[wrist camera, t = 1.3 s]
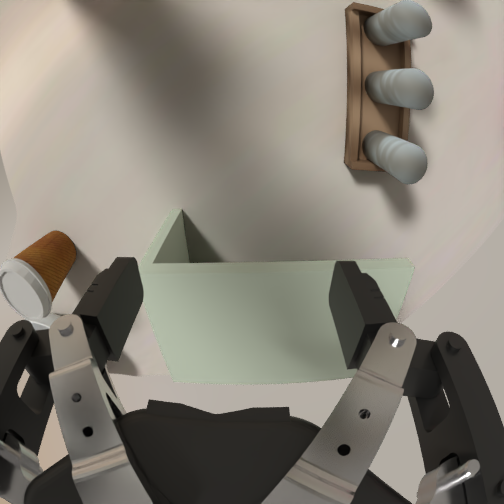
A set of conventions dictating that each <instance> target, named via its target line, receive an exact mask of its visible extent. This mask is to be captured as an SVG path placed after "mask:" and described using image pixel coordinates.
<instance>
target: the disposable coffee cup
mask: <svg viewBox="0 0 504 504" xmlns="http://www.w3.org/2000/svg"><path fill="white" fill-rule="evenodd" d="M75 259H76V250H75V247H74V245H73V243H72V241H71V240H70V239H69V237H68V236H66V235H65V234H64V233H62V232H60V231H52V232H50V233H48V234H47V235H45V236H44V237H42V238H41V239H39V240H38V241H36V242H35V243H33V244H32V245H31V246H29V247H28V248H26V249H25V250H23V251H22V252H21V253H19V254H18V255H17V256H15V257H14V258H11V259H8V260H6V261H4V262H3V263H2V265H1V268H0V291H1V293H2V295H3V297H4V299H5V300H6V301H7V303H8V304H9V305H10V307H11V308H12V309H13V310H14V311H15V312H16V313H18V314H19V315H20V316H22V317H23V318H25V319H27V320H30V321H40V320H41V319H42V318H45V317H47V316H48V315H49V313H50V311H51V306H52V302H53V300H54V298H55V295H56V294H57V292H58V289H59V288H60V286H61V285H62V283H63V281H64V279H65V277H66V275H67V274H68V272H69V270H70V268H71V267H72V264H73V263H74V262H75Z"/></svg>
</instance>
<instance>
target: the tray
mask: <svg viewBox="0 0 504 504" xmlns="http://www.w3.org/2000/svg"><path fill="white" fill-rule="evenodd" d="M345 17H346V37H347V117H346V139H345V156H344V163H345V164H346V165H347V166H349V167H350V168H351V169H353V170H369V171H383V172H388V173H389V174H391V175H392V176H393V177H395V178H396V179H398V180H399V181H401V182H402V183H404V184H414V183H416V182H418V181H419V180H420V179H421V178H422V177H423V176H424V174H425V172H426V169H427V157H426V154H425V152H424V151H423V150H422V148H420V147H419V146H417V145H415V144H413V143H410V142H408V131H409V117H410V108H411V109H417V110H422V109H425V108H427V107H428V106H429V105H430V104H431V102H432V100H433V96H434V90H433V85H432V82H431V80H430V79H429V77H428V76H427V75H426V74H425V73H424V72H423V71H421V70H419V69H416V68H411V47H410V40H412V39H416V38H421V37H425V36H427V35H429V34H430V32H431V29H432V22H431V19H430V16H429V15H428V13H427V12H426V10H425V9H424V8H423V7H422V6H421V5H419V4H418V3H416V2H414V1H411V0H403V1H400V2H398V3H396V4H394V5H392V6H390V7H388V8H386V9H381V8H377V7H373V6H369V5H364V4H359V3H355V2H353V3H352V4H351V5H349V6H348V7H347V8H346V9H345Z"/></svg>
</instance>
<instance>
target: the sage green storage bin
mask: <svg viewBox="0 0 504 504" xmlns="http://www.w3.org/2000/svg"><path fill="white" fill-rule="evenodd" d="M336 261H355V262H356V263H357V265H358V267H359V269H360V271H361V273H367V274H368V275H370V276H371V277H372V278H373V279H374V280H375V281H376V282H377V284H378V286H379V288H380V291H381V292H382V294H383V295H384V298H385V299H386V301H387V303H388V305H389V307H390V309H391V311H392V313H393V315H394V317H395V319H397V317H398V314H399V312H400V309H401V306H402V304H403V301H404V298H405V295H406V293H407V290H408V287H409V284H410V281H411V278H412V275H413V272H414V269H415V267H414V265H413V264H412V263H411V261H410V260H409V259H408V258H392V259H359V260H323V261H281V262H230V263H190V261H189V255H188V248H187V242H186V235H185V229H184V222H183V214H182V209H172V211H171V212H170V214H169V216H168V217H167V219H166V220H165V222H164V224H163V225H162V227H161V229H160V230H159V232H158V234H157V235H156V237H155V239H154V240H153V242H152V244H151V245H150V247H149V249H148V251H147V252H146V254H145V256H144V258H143V259H142V261H141V263H140V265H139V266H138V269H139V273H140V277H141V281H142V285H143V290H144V297H143V303H144V306H145V309H146V312H147V315H148V317H149V320H150V323H151V326H152V329H153V332H154V334H155V337H156V340H157V342H158V345H159V348H160V350H161V353H162V355H163V358H164V360H165V363H166V365H167V368H168V370H169V372H170V375H171V377H172V380H173V382H184V383H201V384H233V385H234V384H235V385H248V384H250V385H252V384H285V383H301V382H314V381H326V380H336V379H345V378H353V377H354V375H355V373H356V372H357V369H348V370H347V367H346V363H345V360H344V356H343V352H342V349H341V345H340V341H339V338H338V334H337V331H336V327H335V324H334V320H333V317H332V314H331V310H330V307H329V290H330V285H331V280H332V275H333V270H334V266H335V263H336Z"/></svg>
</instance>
